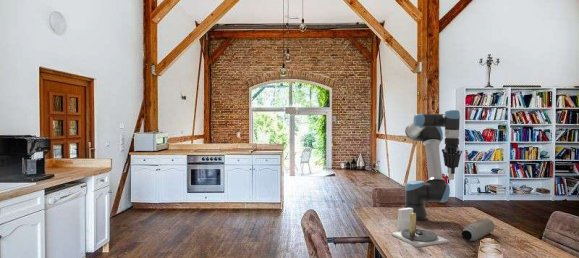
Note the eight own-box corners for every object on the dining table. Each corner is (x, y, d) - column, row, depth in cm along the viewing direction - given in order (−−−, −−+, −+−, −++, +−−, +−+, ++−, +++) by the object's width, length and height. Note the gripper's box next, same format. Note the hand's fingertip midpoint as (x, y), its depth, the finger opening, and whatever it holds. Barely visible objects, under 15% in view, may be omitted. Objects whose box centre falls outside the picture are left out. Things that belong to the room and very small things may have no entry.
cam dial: (411, 229, 206) (412, 205, 206) (443, 236, 193) (444, 211, 193) (394, 235, 194) (395, 210, 194) (427, 243, 181) (427, 217, 181)
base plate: (391, 235, 199) (391, 229, 199) (421, 231, 207) (421, 225, 207) (416, 246, 181) (416, 240, 181) (448, 242, 188) (448, 236, 188)
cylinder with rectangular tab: (405, 232, 204) (405, 211, 204) (393, 228, 212) (394, 207, 212) (417, 230, 208) (417, 209, 208) (405, 226, 216) (405, 206, 216)
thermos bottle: (476, 220, 210) (455, 229, 191) (490, 216, 205) (469, 225, 186) (483, 234, 207) (462, 245, 189) (497, 230, 202) (477, 241, 183)
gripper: (438, 137, 212) (437, 178, 212) (455, 138, 199) (455, 181, 200) (448, 137, 214) (447, 177, 215) (466, 138, 202) (465, 180, 203)
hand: (451, 179), depth 207 cm, fingers closed
